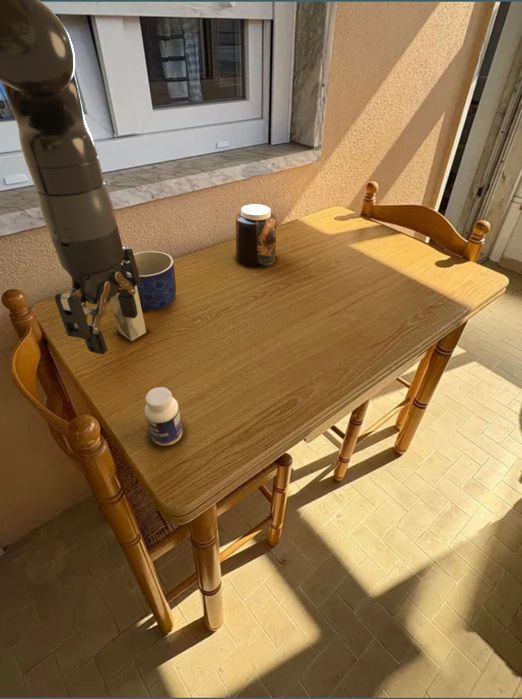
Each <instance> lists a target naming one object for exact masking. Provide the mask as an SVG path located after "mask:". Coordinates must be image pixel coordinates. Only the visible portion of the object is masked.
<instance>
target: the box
mask: <svg viewBox="0 0 522 699" xmlns="http://www.w3.org/2000/svg"><path fill="white" fill-rule="evenodd" d="M119 294H120V293H117V294H116V295H115V296H113V297H112V298H111V299H110V301H109V302H110V303H111V308H112V311H113V316H114V319H115V323H116V327H117V330H118V333H120V334H121V335H122V336H123V337H125V338H126V339H128V340H129V341H130V342H131V341H134V340H135V339H138V338H140V337H141V336H143V335H145V334H146V333H147V329H146V325H145V320H144V314H143V310H142V309H141V305H140V300H139V295H138V290H137V286H135V294H134V298H135V302H136V307H137V313H138V315H137V316H136V317H135V318H129V317H125V316H123V314H122V311H121V307H120V304H119V300H118V295H119Z"/></svg>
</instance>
